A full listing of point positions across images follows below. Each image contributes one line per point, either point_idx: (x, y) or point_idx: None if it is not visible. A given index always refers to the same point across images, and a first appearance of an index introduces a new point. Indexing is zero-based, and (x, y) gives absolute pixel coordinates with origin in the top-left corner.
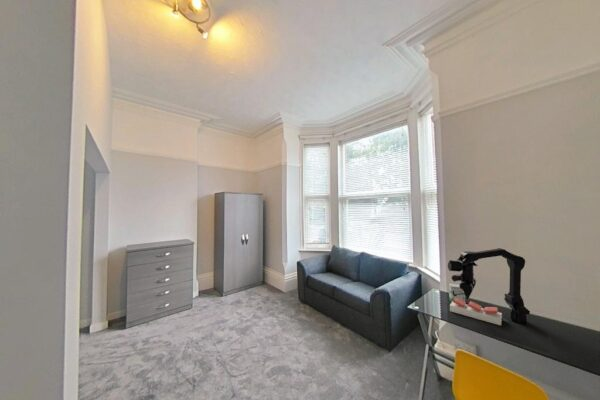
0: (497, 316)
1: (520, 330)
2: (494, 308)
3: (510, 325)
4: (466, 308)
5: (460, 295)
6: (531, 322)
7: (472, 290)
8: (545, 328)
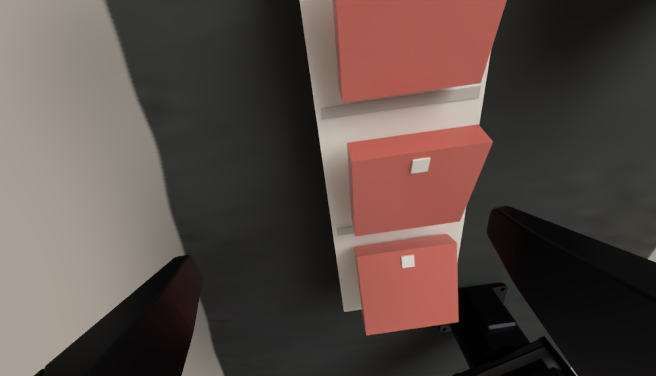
0: None
1: (353, 323)
2: (422, 313)
3: None
4: (342, 115)
5: None
6: None
7: (563, 350)
8: (456, 357)
